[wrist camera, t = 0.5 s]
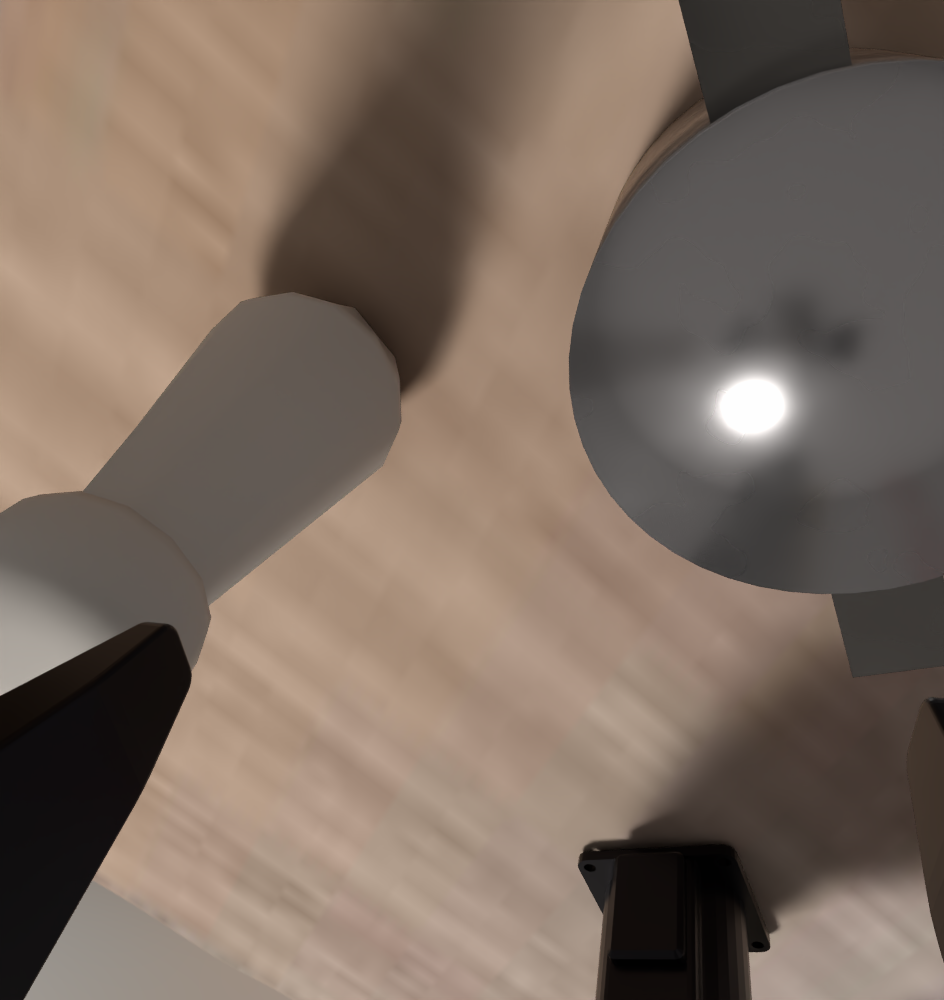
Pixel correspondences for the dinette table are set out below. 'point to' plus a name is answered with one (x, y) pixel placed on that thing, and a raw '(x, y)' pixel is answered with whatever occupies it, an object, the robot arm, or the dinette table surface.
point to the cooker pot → (783, 326)
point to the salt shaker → (201, 484)
